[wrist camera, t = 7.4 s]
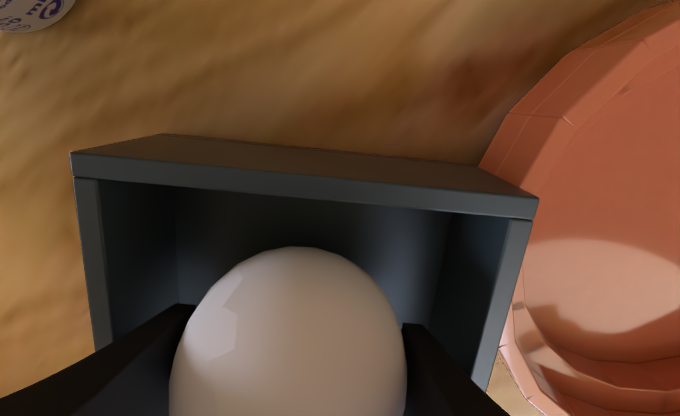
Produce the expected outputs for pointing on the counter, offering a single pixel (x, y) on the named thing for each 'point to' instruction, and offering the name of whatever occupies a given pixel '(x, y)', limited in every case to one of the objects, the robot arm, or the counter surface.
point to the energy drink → (31, 14)
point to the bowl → (599, 225)
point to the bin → (300, 230)
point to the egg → (291, 342)
